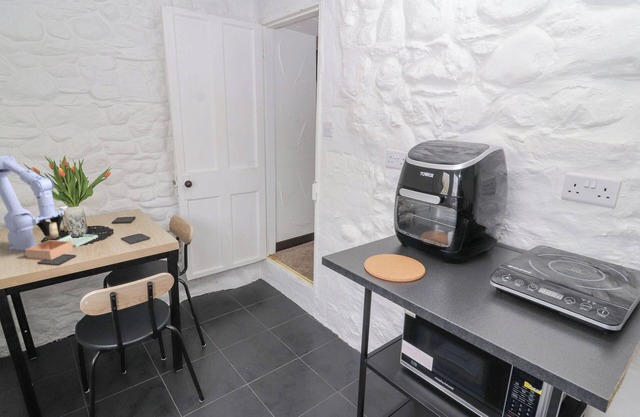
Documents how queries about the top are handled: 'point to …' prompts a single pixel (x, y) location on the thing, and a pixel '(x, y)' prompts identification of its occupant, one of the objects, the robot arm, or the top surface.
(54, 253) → the salmon tray
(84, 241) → the sage tray
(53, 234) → the beech cylinder
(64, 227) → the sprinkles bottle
